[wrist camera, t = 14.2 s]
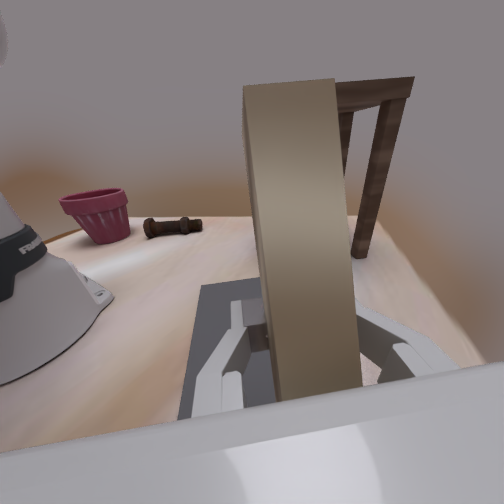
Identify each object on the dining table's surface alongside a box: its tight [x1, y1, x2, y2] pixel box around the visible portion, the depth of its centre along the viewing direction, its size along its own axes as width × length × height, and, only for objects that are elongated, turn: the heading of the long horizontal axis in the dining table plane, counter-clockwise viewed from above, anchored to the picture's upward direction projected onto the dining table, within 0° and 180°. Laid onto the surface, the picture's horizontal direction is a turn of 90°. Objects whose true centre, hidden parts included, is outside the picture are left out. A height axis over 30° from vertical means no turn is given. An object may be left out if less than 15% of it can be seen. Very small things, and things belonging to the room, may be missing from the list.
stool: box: [335, 77, 415, 259], centre depth 35 cm, size 14×16×26 cm
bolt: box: [143, 217, 202, 238], centre depth 54 cm, size 6×5×15 cm
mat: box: [177, 277, 276, 420], centre depth 21 cm, size 26×16×1 cm, turn 7°
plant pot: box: [59, 188, 130, 244], centre depth 53 cm, size 14×14×13 cm
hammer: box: [242, 78, 363, 402], centre depth 8 cm, size 22×7×4 cm
